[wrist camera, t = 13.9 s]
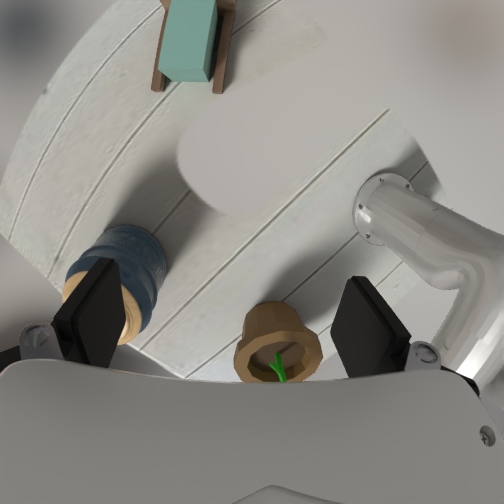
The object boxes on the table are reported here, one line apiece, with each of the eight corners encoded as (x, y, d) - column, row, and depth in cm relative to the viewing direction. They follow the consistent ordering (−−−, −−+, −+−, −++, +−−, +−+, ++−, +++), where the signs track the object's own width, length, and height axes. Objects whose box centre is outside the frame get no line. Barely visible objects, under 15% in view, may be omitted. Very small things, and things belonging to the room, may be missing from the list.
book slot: (235, 11, 27) (236, -13, 20) (222, 93, 33) (220, 84, 26) (170, 10, 26) (158, -13, 19) (155, 91, 32) (138, 83, 25)
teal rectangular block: (218, 22, 28) (215, -4, 20) (208, 82, 32) (202, 69, 24) (183, 21, 27) (172, -4, 19) (173, 81, 32) (157, 69, 23)
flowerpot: (216, 316, 48) (214, 479, 21) (286, 276, 46) (343, 442, 19) (258, 359, 54) (278, 496, 27) (320, 327, 52) (373, 464, 25)
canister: (176, 235, 41) (147, 303, 25) (161, 301, 46) (138, 378, 30) (100, 213, 39) (40, 265, 23) (94, 280, 43) (51, 347, 28)
